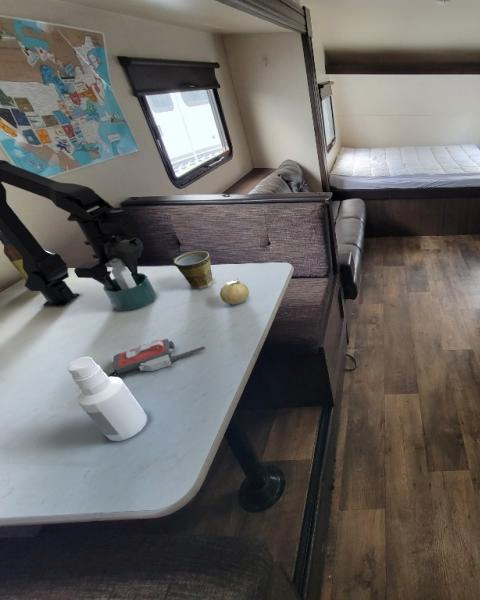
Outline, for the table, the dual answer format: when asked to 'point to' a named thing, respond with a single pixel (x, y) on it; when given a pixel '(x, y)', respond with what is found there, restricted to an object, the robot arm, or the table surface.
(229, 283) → the onion
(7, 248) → the sauce bottle
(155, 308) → the table surface
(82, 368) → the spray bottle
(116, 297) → the canister
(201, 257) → the ceramic cup
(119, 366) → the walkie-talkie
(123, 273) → the eye dropper bottle
